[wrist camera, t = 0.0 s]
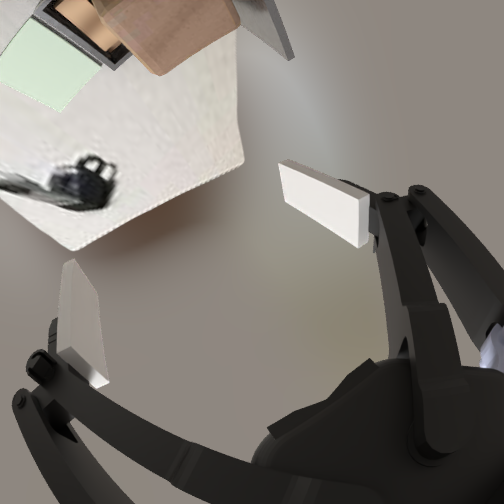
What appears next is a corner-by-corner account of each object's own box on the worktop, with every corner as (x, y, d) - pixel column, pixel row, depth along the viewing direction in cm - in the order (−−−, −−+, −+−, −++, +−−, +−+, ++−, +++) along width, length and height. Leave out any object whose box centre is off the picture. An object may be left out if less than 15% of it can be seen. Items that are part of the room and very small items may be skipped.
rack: (36, 6, 16) (10, 79, 10) (142, -78, 12) (229, -91, 6) (109, 60, 32) (153, 158, 26) (198, -7, 28) (294, 57, 22)
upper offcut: (55, 5, 17) (55, 8, 16) (75, -13, 17) (75, -11, 16) (103, 46, 28) (105, 51, 27) (120, 31, 27) (123, 36, 26)
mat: (-12, 74, 19) (-13, 76, 19) (30, 16, 17) (30, 17, 17) (60, 110, 34) (60, 112, 34) (101, 66, 32) (101, 67, 32)
